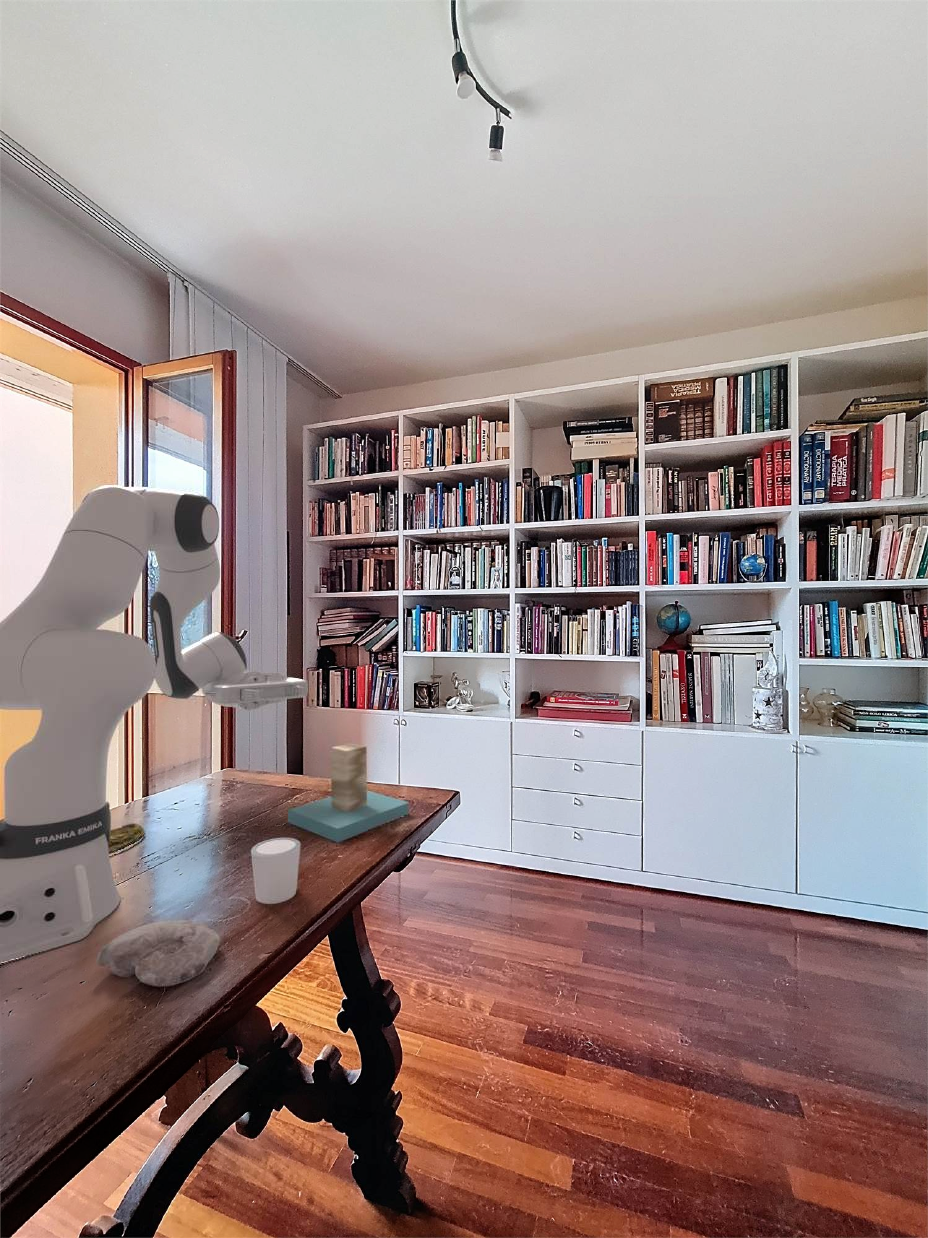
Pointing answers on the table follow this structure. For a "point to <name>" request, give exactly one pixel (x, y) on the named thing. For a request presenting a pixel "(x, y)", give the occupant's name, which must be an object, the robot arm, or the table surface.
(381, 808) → the teal board
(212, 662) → the robot arm
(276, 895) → the shot glass
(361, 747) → the birch block
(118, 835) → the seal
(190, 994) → the table surface
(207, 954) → the fossil
